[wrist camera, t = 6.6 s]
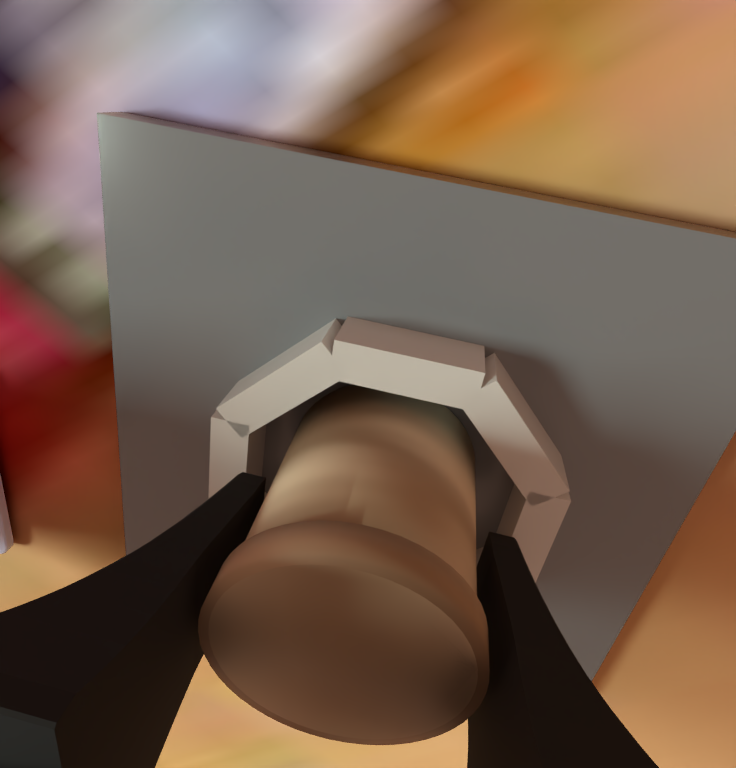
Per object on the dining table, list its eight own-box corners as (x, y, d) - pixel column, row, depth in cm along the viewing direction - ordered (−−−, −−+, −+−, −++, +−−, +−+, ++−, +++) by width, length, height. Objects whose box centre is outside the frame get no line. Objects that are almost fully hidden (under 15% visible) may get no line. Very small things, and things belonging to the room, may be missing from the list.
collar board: (143, 577, 21) (104, 633, 19) (121, 111, 13) (52, 114, 11) (567, 687, 20) (578, 761, 18) (809, 246, 12) (882, 279, 10)
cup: (284, 514, 17) (204, 711, 12) (290, 358, 14) (190, 527, 9) (461, 549, 17) (458, 768, 11) (503, 395, 14) (523, 594, 9)
